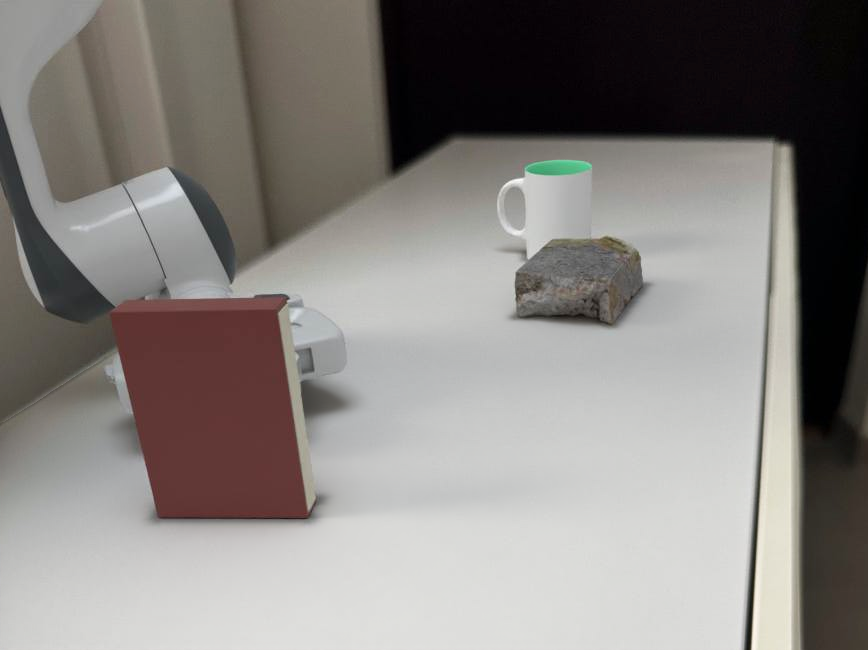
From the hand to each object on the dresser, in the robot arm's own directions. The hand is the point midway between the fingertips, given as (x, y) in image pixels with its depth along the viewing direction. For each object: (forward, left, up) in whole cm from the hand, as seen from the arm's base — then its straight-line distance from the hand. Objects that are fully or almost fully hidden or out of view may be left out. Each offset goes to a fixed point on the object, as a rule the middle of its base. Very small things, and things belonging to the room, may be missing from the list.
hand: (252, 394), depth 87 cm
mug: (+21, +56, -6) cm, 60 cm away
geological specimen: (+26, +38, -6) cm, 46 cm away
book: (0, -10, -5) cm, 11 cm away
